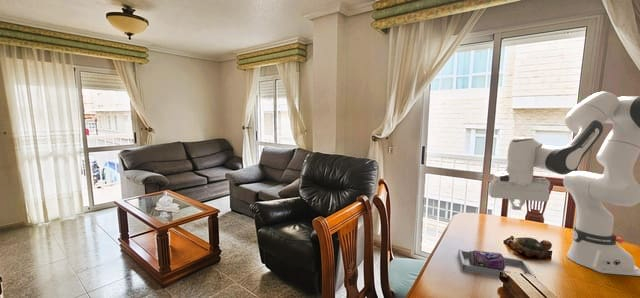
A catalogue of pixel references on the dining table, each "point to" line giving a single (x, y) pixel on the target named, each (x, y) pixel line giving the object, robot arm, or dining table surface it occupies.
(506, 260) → the frame
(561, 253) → the dining table surface
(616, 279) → the dining table surface
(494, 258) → the beverage can
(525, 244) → the clay ocarina
